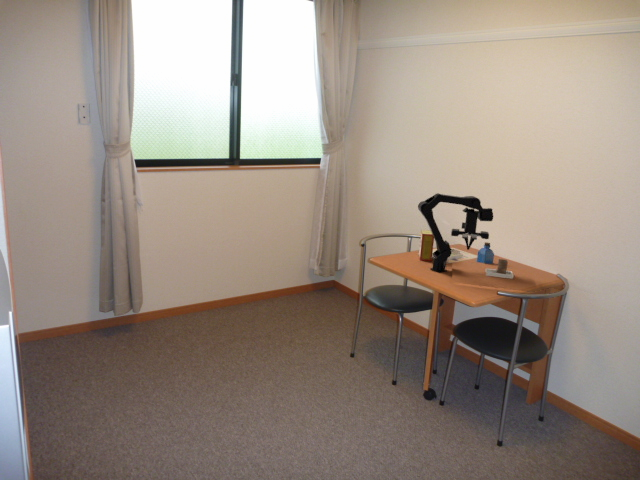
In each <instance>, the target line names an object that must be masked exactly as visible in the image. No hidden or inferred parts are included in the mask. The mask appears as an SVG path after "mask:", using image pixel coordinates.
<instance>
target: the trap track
mask: <svg viewBox="0 0 640 480" xmlns="http://www.w3.org/2000/svg"><path fill="white" fill-rule="evenodd" d="M485 273H486V274H485V276H486V277H487V276H488V277H496V278H504V279H512V280H513V279H514V273H513V271H511V270H506V274H501V273H497V269H495V268H485Z"/></svg>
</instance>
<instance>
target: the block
mask: <svg viewBox="0 0 640 480" xmlns="http://www.w3.org/2000/svg"><path fill="white" fill-rule="evenodd" d="M507 269H508V260H507V259H503V258H502V259H501V258H499V259H498V263H497V269H496V270H497V273H501V274H506V271H508V270H507Z"/></svg>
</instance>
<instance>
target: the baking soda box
mask: <svg viewBox="0 0 640 480" xmlns="http://www.w3.org/2000/svg"><path fill="white" fill-rule="evenodd" d="M434 242H435V239H434V237H433V234H432V232H431V230H425V229H420V241H419V249H418V251H419V252H418V257H419V261H421V262H432V260H433V253H434V252H433V251H434Z"/></svg>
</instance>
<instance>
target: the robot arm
mask: <svg viewBox="0 0 640 480" xmlns="http://www.w3.org/2000/svg"><path fill="white" fill-rule="evenodd" d="M440 203H448V204H454V205H460V206H464V207H465V208H464V209H462V212H463V213H466V215H465V221H464V222H461V229H463V230H460V228H451V234H450V235H451V237H459V236H462V237H461V238H462V239H464V241H465V245H466V246H465V247H466V250H467V251H469V250H470V249H471V246H472V245H473V243H474V241H475V240H476V241H477V239H478V237H480V238H481V240H482V239H483V240H489V238H490V234H489V232H488V231H483V230H482V231H480V232H477V227H478V226H477V225H478V220H479V221H480V222H492V221H493V219H494V213H493V208H492V207H491V208H490V207H487V208H483V206H482V205H481V200H480V198H478V197H476V196H474V195H466V196H457V195H456V196H455V195H450V194H443V193H442V194H441V193H435V194H433V196H430V197H429V198H426V199H425V200H424V201H420V202H419V203H418V205H417V209H418V211H419V212H420V214H421V215H422V216H423V218H424V219H425V221H426V223H427V226H428V228H429V231H431V232H432V234H433V237H434V242H435V247H436V250H435V251H434V252H433V253H432V257H434V259H433V258H432V260H433V262H432V267H431V268H429V269H430V270H431V271H434V272H437V273H444V272H447V271H448V270H447V269H446V265H447V261H448V259H449V258H450V257H451V256H452V251H453V249H452V248H451V245H450V243H449V242H448V241H447V240H444V238H443V236H442V234H441V231H440V229H439V228H438V227H439V226H438V225H437V223H436V220H435V219H434V212H433V209H435V208H436V207H437V205H439V204H440ZM469 236H470V239H469Z"/></svg>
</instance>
